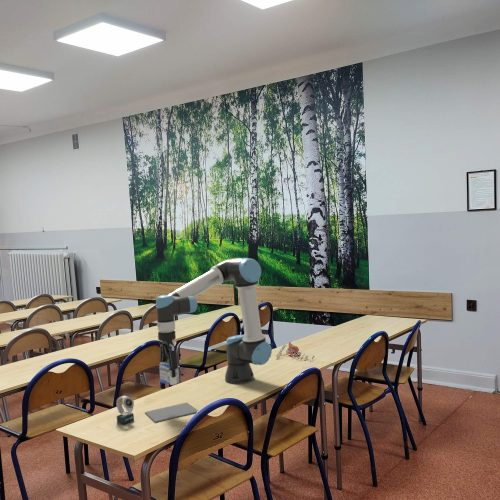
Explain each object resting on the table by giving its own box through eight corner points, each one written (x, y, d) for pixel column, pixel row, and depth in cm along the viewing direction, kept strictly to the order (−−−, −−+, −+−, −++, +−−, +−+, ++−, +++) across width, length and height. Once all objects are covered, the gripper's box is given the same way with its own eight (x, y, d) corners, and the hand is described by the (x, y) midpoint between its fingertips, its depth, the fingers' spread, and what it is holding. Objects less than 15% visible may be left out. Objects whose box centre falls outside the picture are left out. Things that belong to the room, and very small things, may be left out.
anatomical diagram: (284, 340, 329) (320, 342, 315) (288, 352, 332) (324, 354, 318) (270, 360, 314) (307, 363, 300) (274, 372, 317) (311, 375, 303)
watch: (127, 425, 220) (125, 399, 219) (114, 422, 224) (112, 397, 224) (137, 421, 224) (135, 395, 224) (124, 418, 229) (122, 393, 228)
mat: (186, 403, 243) (186, 402, 243) (199, 412, 231) (198, 411, 231) (144, 413, 234) (144, 412, 234) (155, 422, 221) (155, 421, 221)
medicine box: (159, 382, 232) (158, 363, 232) (167, 380, 236) (166, 360, 235) (172, 385, 227) (170, 365, 227) (179, 382, 231) (178, 363, 230)
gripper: (150, 328, 238) (153, 377, 239) (166, 336, 219) (170, 389, 220) (166, 326, 242) (169, 374, 243) (183, 333, 223) (186, 385, 224)
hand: (169, 381), depth 232 cm, fingers closed on medicine box, 9 cm apart
